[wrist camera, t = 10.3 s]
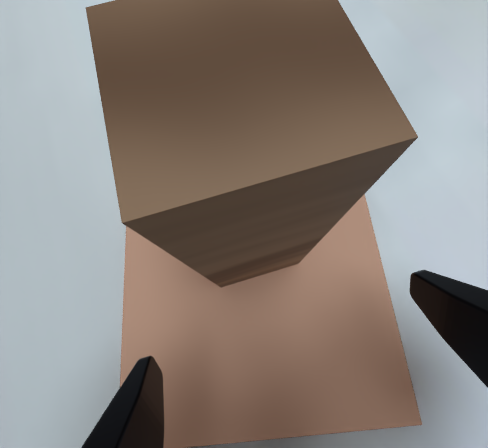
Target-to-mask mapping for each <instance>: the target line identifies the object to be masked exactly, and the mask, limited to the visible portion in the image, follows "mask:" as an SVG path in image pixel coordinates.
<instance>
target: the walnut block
mask: <svg viewBox="0 0 488 448" xmlns="http://www.w3.org/2000/svg"><path fill="white" fill-rule="evenodd" d="M86 12H87V18H88V24H89V30H90V36H91V42H92V48H93V54H94V60H95V65H96V71H97V77H98V83H99V89H100V95H101V101H102V107H103V113H104V119H105V125H106V131H107V137H108V143H109V149H110V155H111V161H112V167H113V173H114V179H115V185H116V191H117V197H118V203H119V208H120V214H121V220H122V223H123V224H124V225H126V226H127V227H129V228H130V229H132V230H133V231H135V232H137V233H138V234H140V235H141V236H143V237H144V238H146V239H147V240H149V241H150V242H152V243H153V244H155V245H156V246H158V247H160V248H161V249H163V250H164V251H166V252H167V253H169V254H170V255H172V256H173V257H175V258H176V259H178V260H179V261H181V262H183V263H184V264H186V265H187V266H189V267H190V268H192V269H193V270H195V271H196V272H198V273H199V274H201V275H202V276H204V277H206V278H207V279H209V280H210V281H212V282H213V283H215V284H216V285H218V286H219V287H221V288H222V287H225V286H228V285H231V284H234V283H238V282H241V281H244V280H247V279H251V278H254V277H257V276H260V275H264V274H267V273H270V272H273V271H277V270H280V269H283V268H286V267H290V266H293V265H296V264H299V263H300V262H301V260H302V259H303V258H304V257H305V256H306V255H307V254H308V253H309V252H310V251H311V250H312V249H313V248H314V247H315V246H316V245H317V244H318V242H319V241H320V240H321V239H322V238H323V237H324V236H325V235H326V234H327V233H328V232H329V231H330V230H331V229H332V228H333V227H334V226H335V224H336V223H337V222H338V221H339V220H340V219H341V218H342V217H343V216H344V215H345V214H346V213H347V212H348V211H349V210H350V209H351V208H352V206H353V205H354V204H355V203H356V202H357V201H358V200H359V199H360V198H361V197H362V196H363V195H364V194H365V193H366V192H367V191H368V190H369V188H370V187H371V186H372V185H373V184H374V183H375V182H376V181H377V180H378V179H379V178H380V177H381V176H382V175H383V174H384V173H385V172H386V170H387V169H388V168H389V167H390V166H391V165H392V164H393V163H394V162H395V161H396V160H397V159H398V158H399V157H400V156H401V155H402V154H403V152H404V151H405V150H406V149H407V148H408V147H409V146H410V145H411V144H412V143H413V142H414V141H415V140H416V139H417V138H418V136H417V134H416V132H415V131H414V129H413V127H412V126H411V124H410V122H409V120H408V119H407V117H406V115H405V114H404V112H403V110H402V109H401V107H400V105H399V103H398V102H397V100H396V98H395V97H394V95H393V93H392V92H391V90H390V88H389V86H388V85H387V83H386V81H385V80H384V78H383V76H382V75H381V73H380V71H379V69H378V68H377V66H376V64H375V63H374V61H373V59H372V58H371V56H370V54H369V52H368V51H367V49H366V47H365V46H364V44H363V42H362V41H361V39H360V37H359V35H358V34H357V32H356V30H355V29H354V27H353V25H352V24H351V22H350V20H349V18H348V17H347V15H346V13H345V12H344V10H343V8H342V7H341V5H340V3H339V1H338V0H115V1H111V2H107V3H102V4H98V5H94V6H90V7H86Z"/></svg>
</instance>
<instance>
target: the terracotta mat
mask: <svg viewBox="0 0 488 448" xmlns="http://www.w3.org/2000/svg"><path fill="white" fill-rule="evenodd" d="M147 356H153V357H154V359H155V361H156V362H157V364H158V366H159V367H160V369H161V371H162V374H163V394H164V445H163V448H186V447H196V446H207V445H217V444H228V443H238V442H248V441H259V440H269V439H280V438H290V437H300V436H311V435H321V434H332V433H342V432H353V431H363V430H373V429H384V428H394V427H405V426H415V425H422V422H421V418H420V414H419V410H418V406H417V402H416V398H415V394H414V390H413V386H412V382H411V378H410V374H409V370H408V366H407V362H406V358H405V354H404V350H403V346H402V342H401V338H400V334H399V330H398V326H397V322H396V318H395V314H394V310H393V306H392V302H391V298H390V294H389V290H388V286H387V282H386V278H385V274H384V270H383V266H382V262H381V258H380V254H379V250H378V246H377V242H376V238H375V234H374V230H373V226H372V222H371V218H370V214H369V210H368V206H367V202H366V198H365V194H364V195H363V196H362V197H361V198H360V199H359V200H358V201H357V202H356V203H355V204H354V205H353V206H352V208H351V209H350V210H349V211H348V212H347V213H346V214H345V215H344V216H343V217H342V218H341V219H340V220H339V221H338V222H337V223H336V224H335V226H334V227H333V228H332V229H331V230H330V231H329V232H328V233H327V234H326V235H325V236H324V237H323V238H322V239H321V240H320V241H319V242H318V244H317V245H316V246H315V247H314V248H313V249H312V250H311V251H310V252H309V253H308V254H307V255H306V256H305V257H304V258H303V259H302V260H301V262H300V263H299V264H296V265H293V266H290V267H286V268H283V269H280V270H277V271H273V272H270V273H267V274H264V275H260V276H257V277H254V278H251V279H247V280H244V281H241V282H238V283H234V284H231V285H228V286H225V287H222V288H221V287H219V286H218V285H216V284H215V283H213V282H212V281H210V280H209V279H207V278H206V277H204V276H202V275H201V274H199V273H198V272H196V271H195V270H193V269H192V268H190V267H189V266H187V265H186V264H184V263H183V262H181V261H179V260H178V259H176V258H175V257H173V256H172V255H170V254H169V253H167V252H166V251H164V250H163V249H161V248H160V247H158V246H156V245H155V244H153V243H152V242H150V241H149V240H147V239H146V238H144V237H143V236H141V235H140V234H138V233H137V232H135V231H133V230H132V229H130V228H129V227H127V226H126V246H125V271H124V297H123V323H122V349H121V375H120V387H121V386H122V384H123V382H124V381H125V379H126V378H127V376H128V375H129V373H130V372H131V370H132V368H133V367H134V365H135V364H136V362H137V361H138V360H139V359H140V358H143V357H147Z"/></svg>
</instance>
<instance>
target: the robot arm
mask: <svg viewBox="0 0 488 448" xmlns="http://www.w3.org/2000/svg"><path fill="white" fill-rule="evenodd" d="M410 294H411V297H412V298H413V300H414V301H415V302H416V304H417V305H418V306H419V308H420V309H421V310H422V312H423V313H424V314H425V316H426V317H427V318H428V320H429V321H430V322H431V324H432V325H433V326H434V328H435V329H436V330H437V332H438V333H439V334H440V335H441V337H442V338H443V339H444V340H445V341H446V342H447V343H448V345H449V346H450V347H451V348H452V349H453V350H454V351H455V352H456V353H457V354H458V356H459V357H460V358H461V359H462V360H463V361H464V362H465V363H466V364H467V365H468V367H469V368H470V369H471V370H472V371H473V372H474V373H475V374H476V375H477V376H478V377H479V379H480V380H481V381H482V382H483V383H484V384H485V385H486V386H487V387H488V290H485V289H482V288H479V287H476V286H473V285H469V284H466V283H463V282H460V281H457V280H454V279H451V278H448V277H445V276H442V275H439V274H436V273H432V272H429V271H426V270H421V271H418V272H414V273H412V274H411V278H410ZM163 445H164V394H163V374H162V371H161V369H160V367H159V366H158V364H157V362H156V361H155V359H154V357H153V356H147V357H143V358H140V359H139V360H138V361H137V362H136V364H135V365H134V367H133V368H132V370H131V372H130V373H129V375H128V376H127V378H126V379H125V381H124V382H123V384H122V386H121V387H120V389H119V390H118V392H117V393H116V395H115V396H114V398H113V399H112V401H111V403H110V404H109V406H108V407H107V409H106V410H105V412H104V413H103V415H102V417H101V418H100V420H99V421H98V423H97V424H96V426H95V427H94V429H93V431H92V432H91V434H90V435H89V437H88V438H87V440H86V441H85V443H84V444H83V446H82V448H163Z"/></svg>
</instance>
